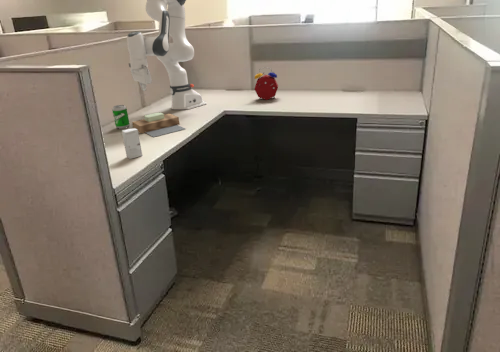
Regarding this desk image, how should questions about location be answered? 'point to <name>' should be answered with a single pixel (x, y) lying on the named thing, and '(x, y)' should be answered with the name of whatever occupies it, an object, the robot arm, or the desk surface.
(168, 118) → the brown wooden flat block
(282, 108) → the desk surface
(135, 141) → the skincare box
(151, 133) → the mat
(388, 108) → the desk surface
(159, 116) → the mint green box
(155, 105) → the desk surface
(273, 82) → the alarm clock
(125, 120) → the soda can
